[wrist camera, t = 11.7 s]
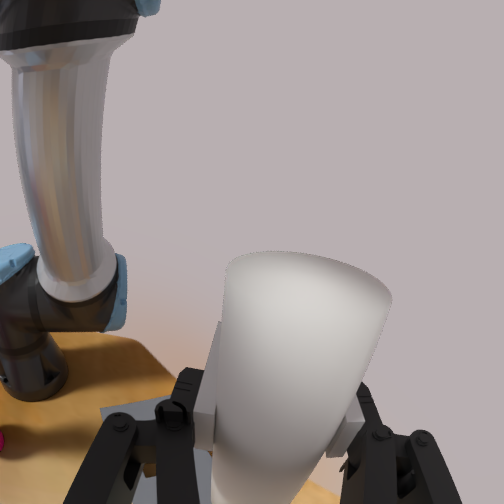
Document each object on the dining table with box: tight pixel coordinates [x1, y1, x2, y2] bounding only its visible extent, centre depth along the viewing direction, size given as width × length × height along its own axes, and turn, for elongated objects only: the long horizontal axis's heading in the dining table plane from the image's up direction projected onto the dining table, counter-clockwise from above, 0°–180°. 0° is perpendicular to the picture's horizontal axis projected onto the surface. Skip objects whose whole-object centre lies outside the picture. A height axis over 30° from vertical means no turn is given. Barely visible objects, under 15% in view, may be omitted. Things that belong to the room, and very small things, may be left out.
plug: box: [211, 251, 392, 504], centre depth 11 cm, size 5×5×16 cm
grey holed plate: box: [100, 395, 212, 504], centre depth 27 cm, size 20×12×3 cm, turn 33°
